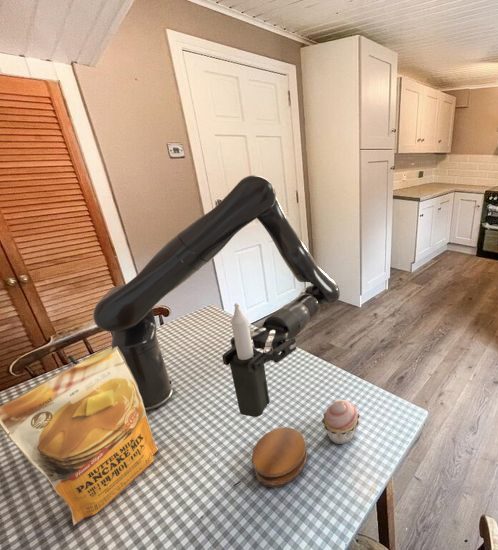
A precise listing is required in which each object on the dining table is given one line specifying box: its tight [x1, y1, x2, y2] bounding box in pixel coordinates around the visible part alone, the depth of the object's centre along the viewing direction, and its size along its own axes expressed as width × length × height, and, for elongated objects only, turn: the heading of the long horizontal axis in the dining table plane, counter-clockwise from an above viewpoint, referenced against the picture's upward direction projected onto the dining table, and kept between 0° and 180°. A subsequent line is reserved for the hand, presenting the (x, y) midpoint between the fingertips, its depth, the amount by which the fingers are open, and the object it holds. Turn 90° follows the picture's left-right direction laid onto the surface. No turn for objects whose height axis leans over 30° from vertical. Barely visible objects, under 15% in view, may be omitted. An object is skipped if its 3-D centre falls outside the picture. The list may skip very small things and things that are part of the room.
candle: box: [229, 302, 271, 418], centre depth 60 cm, size 5×5×25 cm
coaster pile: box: [251, 426, 308, 489], centre depth 66 cm, size 12×11×4 cm
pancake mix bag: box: [0, 345, 159, 526], centre depth 57 cm, size 7×19×28 cm, turn 160°
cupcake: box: [321, 399, 361, 445], centre depth 72 cm, size 9×9×10 cm
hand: (237, 364), depth 58 cm, fingers closed on candle, 5 cm apart
